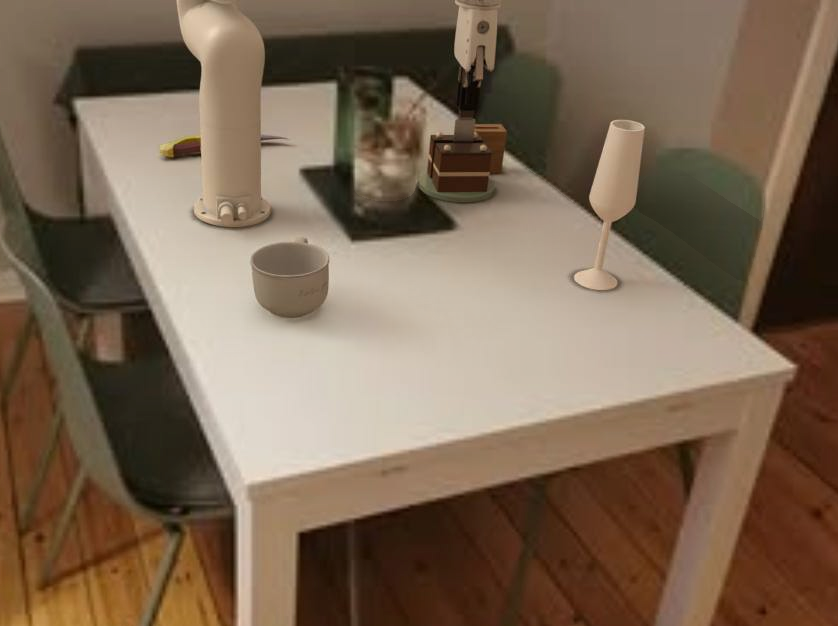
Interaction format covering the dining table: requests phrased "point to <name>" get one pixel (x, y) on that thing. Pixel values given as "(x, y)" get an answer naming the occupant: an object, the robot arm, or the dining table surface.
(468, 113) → the cake knife
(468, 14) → the robot arm
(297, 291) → the teacup
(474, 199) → the cake plate
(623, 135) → the champagne flute
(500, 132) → the knife holder
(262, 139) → the knife
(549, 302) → the dining table surface
